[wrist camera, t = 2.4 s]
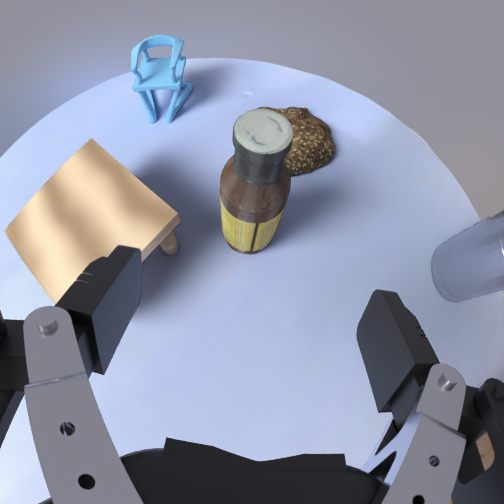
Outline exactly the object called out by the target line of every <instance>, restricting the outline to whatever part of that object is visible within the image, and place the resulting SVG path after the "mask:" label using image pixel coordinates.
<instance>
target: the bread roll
mask: <svg viewBox="0 0 504 504" xmlns="http://www.w3.org/2000/svg"><path fill="white" fill-rule="evenodd" d="M257 109H268V110H272V111H275V112H277V113H280V114H281V115H283V116H284V117H285V118H287V120H288V121H289V122H290V123H291V125H292V129H293V133H294V135H293V142H292V146H291V150H290V152H289V153H288V154H287V156H286V157H285V160H284V163H285V165H286V166H287V168H288V171H289V173H290V177H291V176H293V175H299V174H303V173H310V172H311V171H313V170H315V169H316V168H318V167H321V166H323V165H325V164H327V163H328V162H329V161H330V160H331V159H332V157H333V155H334V154H335V152H336V151H335V144H334V143H333V140H332V137H331V131H330V128H329V127H328V126H327V125H326V123H324V122H323V121H322V120H320V119H318V118H317V117H314V115H310V113H309V111H308V109H307V108H297V107H288V108H286V109H281V108H280V109H273V108H270V107H259V108H257Z"/></svg>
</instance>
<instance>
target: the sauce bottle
mask: <svg viewBox="0 0 504 504" xmlns="http://www.w3.org/2000/svg"><path fill="white" fill-rule="evenodd" d="M293 135H294V133H293V129H292V125H291V123H290V122H289V121H288V120H287V118H285V117H284V116H283V115H281V114H280V113H277V112H275V111H272V110H268V109H254V110H250V111H248V112H246V113H245V114H243V115H241V116H240V117H239V118H238V119H237V120H236V122H235V124H234V128H233V145H234V147H235V154H234V155H233V156H232V157H231V158H230V159H229V160H228V162H227V163H226V164H225V166H224V168H223V170H222V174H221V178H220V179H221V180H220V181H221V182H220V204H221V222H222V231H223V235H224V238H225V240H226V242H227V243H228V245H229V246H230V247H231V248H232V249H233V250H235V251H237V252H239V253H243V254H255V253H257V252H259V251H261V250H262V249H264V248H265V247H266V246H267V245H268V244H269V243H270V241H271V240H272V238H273V236H274V233H275V231H276V228H277V226H278V223H279V220H280V218H281V216H282V213H283V211H284V208H285V205H286V203H287V198H288V195H289V191H290V187H291V186H290V185H291V177H290V173H289V171H288V168H287V166H286V165H285V163H284V160H285V157H286V156H287V154H288V153H289V152H290V150H291V146H292V142H293Z"/></svg>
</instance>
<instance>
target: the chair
mask: <svg viewBox="0 0 504 504" xmlns="http://www.w3.org/2000/svg"><path fill="white" fill-rule="evenodd" d="M183 45H184V41H183V40H182V39H180V38H177V37H174V36H170V35H155V36H152V37H149V38H147V39H145V40H143V41H142V42H140V43H139V44H138V45H137V46H135V47H134V48H133V50H132V54H131V61H132V62H131V70H132V72H133V73H134V75H135V76H136V79H135V82H134V85H133V91H134V92H138V94H139V96H140V98H141V100H142V102H143V104H144V106H145V109H146V111H147V113H148V115H149V117H150V122H151V123H155V122H156V119H157V116H156V110H155V106H154V102H153V98H152V95H151V91H150V90H158V89H163V90H174V92H173V95H172V99H171V102H170V105H169V108H168V111H167V114H166V119H167V122H168V123H171V122H172V121H173V119H174V117H175V115H176V113H177V111H178V110H179V108H180V107H181V105H182V104H183V102H184V101H185V99H186V98H187V96H188V95H189V93H190V92H191V90H192V87H193V83H192V82H182V77H183V71H184V67H185V63H186V57H181V51H182V48H183ZM154 46H173V50H172V56H171V57H169V58H149V54H148V52H147V50H146V49H147V48H150V47H154ZM141 51H142V53H143V56H144V59H142V62H141V65H140V68H139V71H137V65H138V59H139V54H140V52H141ZM180 88H185V89H184V91H183V92H182V93H181V95H180V96H179V97H178V95H179V91H180Z"/></svg>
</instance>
